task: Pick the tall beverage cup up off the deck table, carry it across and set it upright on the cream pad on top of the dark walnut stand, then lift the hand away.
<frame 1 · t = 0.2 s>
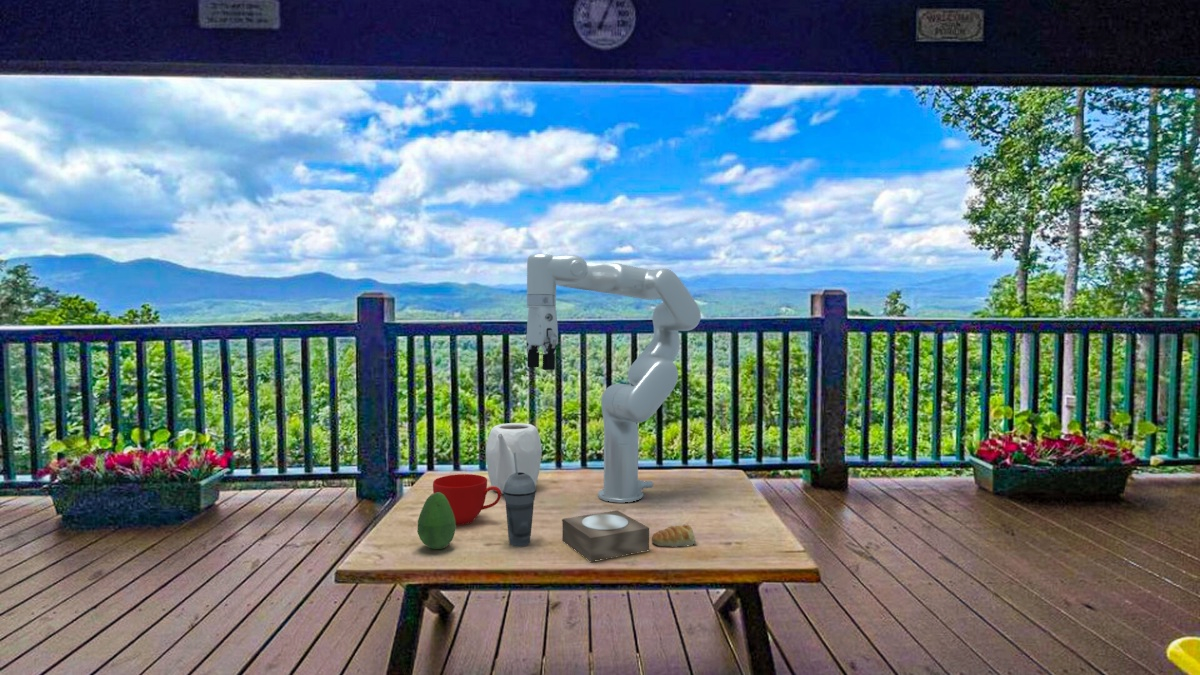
hand: (540, 368, 163), 37 cm above the table, tool pointing down, fingers open, 9 cm apart
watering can: (512, 492, 181), on the table
fruit: (436, 549, 135), on the table
walnut stand: (604, 545, 137), on the table
ceramic cup: (467, 522, 154), on the table
beverage cup: (519, 544, 139), on the table
pastry: (675, 544, 139), on the table
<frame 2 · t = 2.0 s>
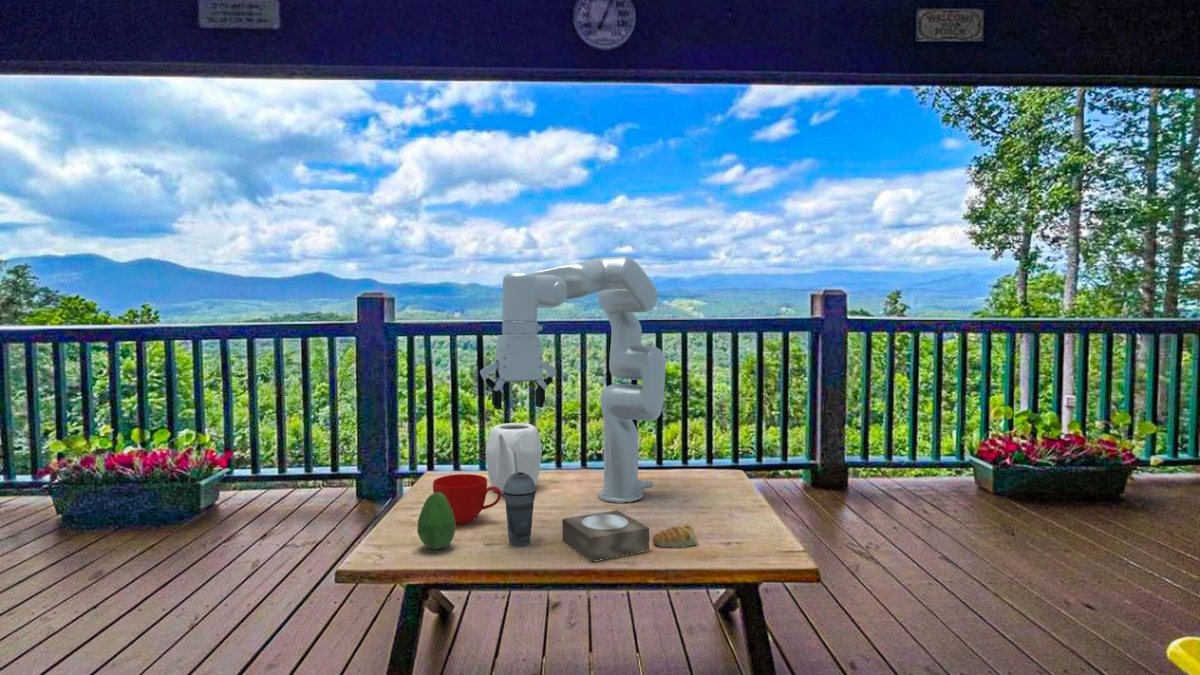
hand: (518, 407, 138), 30 cm above the table, tool pointing down, fingers open, 9 cm apart
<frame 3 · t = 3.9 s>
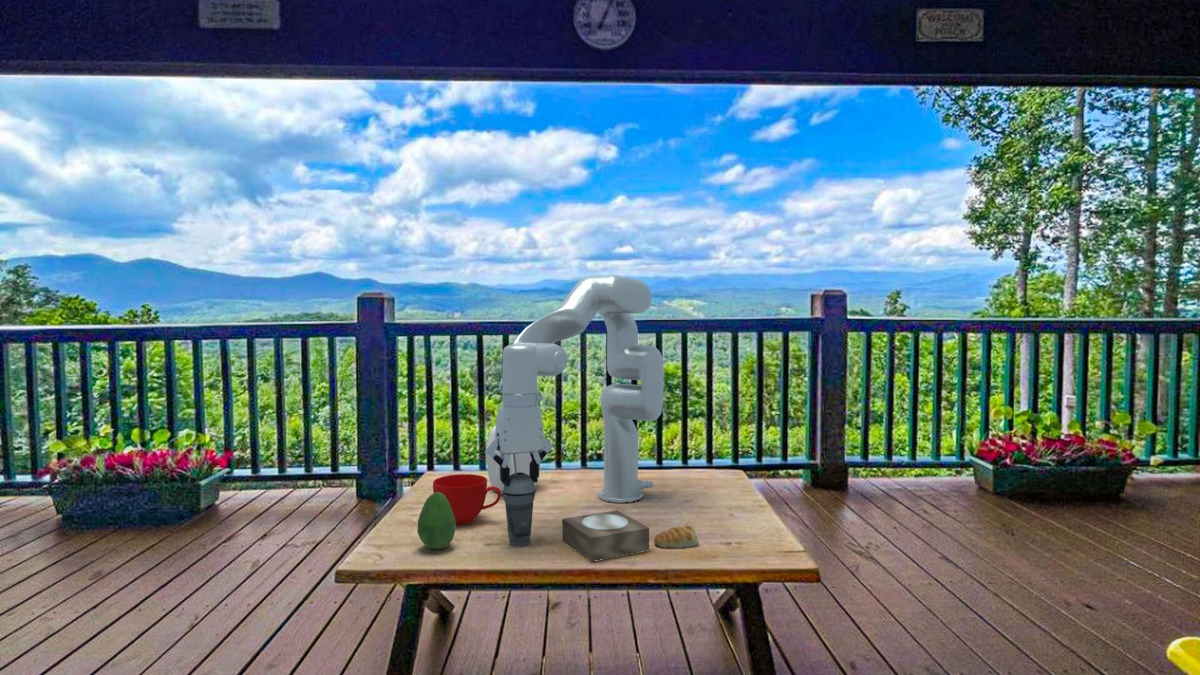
hand: (519, 482, 138), 14 cm above the table, tool pointing down, fingers closed on beverage cup, 5 cm apart
beverage cup: (519, 543, 139), on the table, touching gripper
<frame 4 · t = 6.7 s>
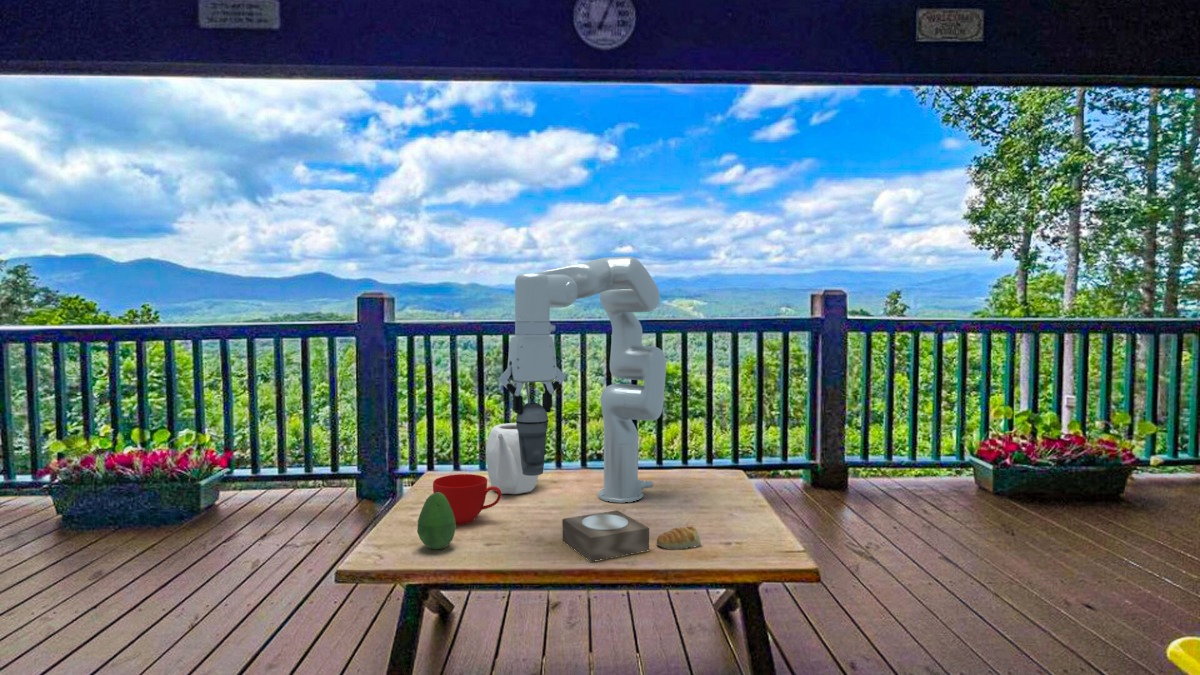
hand: (532, 411, 138), 29 cm above the table, tool pointing down, fingers closed on beverage cup, 5 cm apart
beverage cup: (532, 473, 138), point 15 cm above the table, touching gripper
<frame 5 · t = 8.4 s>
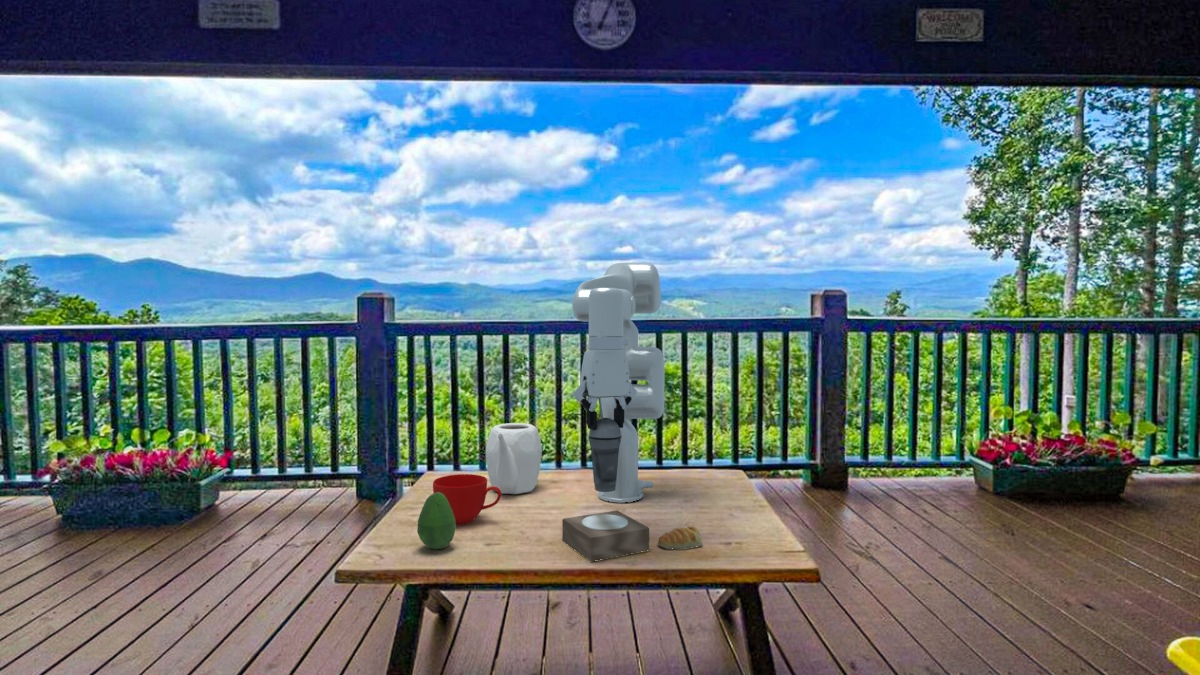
hand: (605, 427, 136), 26 cm above the table, tool pointing down, fingers closed on beverage cup, 5 cm apart
beverage cup: (605, 490, 137), point 12 cm above the table, touching gripper
when the fingers open (20 cm above the table, at t = 9.8 s): beverage cup drops 1 cm, resting on walnut stand.
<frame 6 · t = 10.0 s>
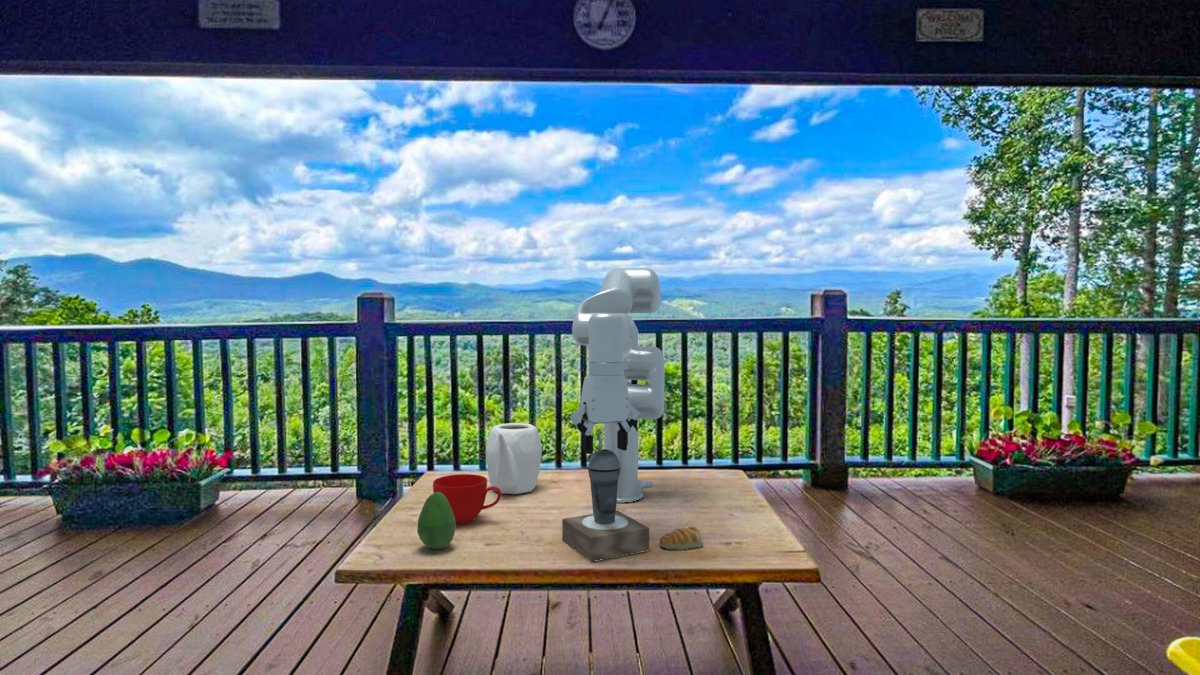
hand: (605, 450, 137), 21 cm above the table, tool pointing down, fingers open, 7 cm apart
beverage cup: (604, 521, 137), point 5 cm above the table, touching walnut stand
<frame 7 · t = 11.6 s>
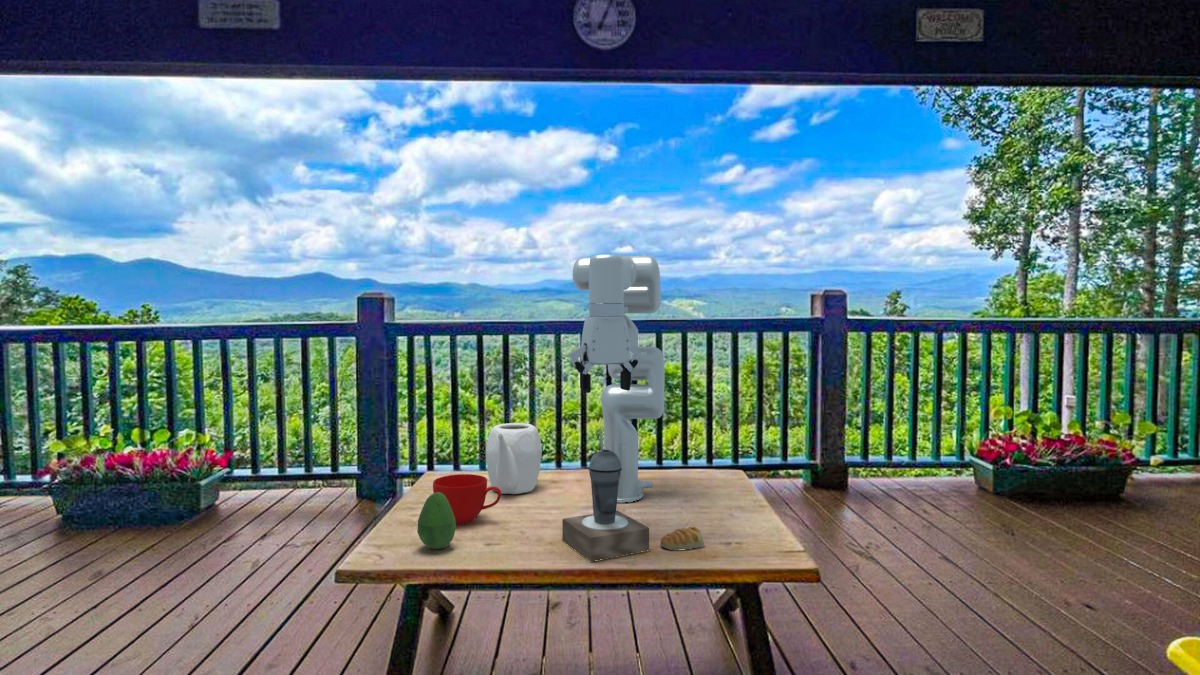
hand: (605, 391, 137), 34 cm above the table, tool pointing down, fingers open, 9 cm apart
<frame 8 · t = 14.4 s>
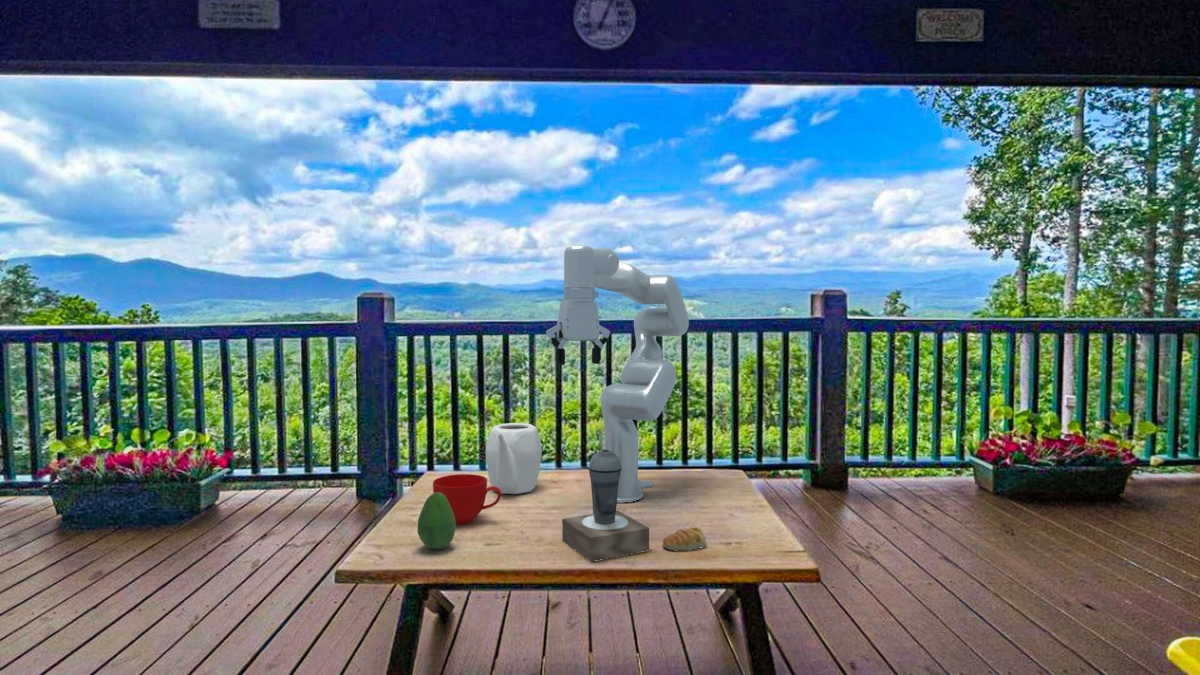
hand: (578, 364, 158), 38 cm above the table, tool pointing down, fingers open, 9 cm apart
at the end: beverage cup inside the target area on the walnut stand (0.1 cm from its centre), point 5.2 cm above the walnut stand's base; beverage cup tilted 0°; the gripper is holding nothing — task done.
